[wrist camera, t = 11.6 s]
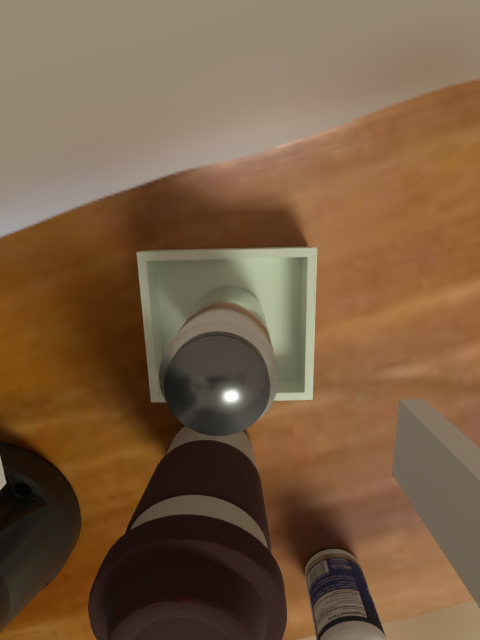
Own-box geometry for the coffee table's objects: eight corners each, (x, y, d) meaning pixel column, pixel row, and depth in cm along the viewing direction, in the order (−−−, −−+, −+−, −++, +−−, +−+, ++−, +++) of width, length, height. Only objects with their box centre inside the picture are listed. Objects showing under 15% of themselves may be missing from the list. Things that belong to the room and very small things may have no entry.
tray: (160, 384, 28) (150, 402, 25) (149, 250, 26) (136, 252, 23) (305, 382, 28) (312, 399, 25) (308, 246, 25) (317, 247, 22)
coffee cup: (241, 383, 28) (238, 542, 14) (285, 478, 30) (323, 702, 16) (136, 425, 29) (28, 613, 15) (185, 513, 31) (134, 753, 17)
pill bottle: (361, 588, 33) (407, 728, 24) (306, 592, 33) (330, 733, 24) (359, 543, 32) (407, 673, 22) (302, 548, 32) (325, 679, 23)
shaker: (195, 355, 27) (158, 445, 15) (191, 286, 26) (147, 328, 14) (265, 353, 27) (280, 444, 15) (264, 284, 26) (281, 326, 14)
